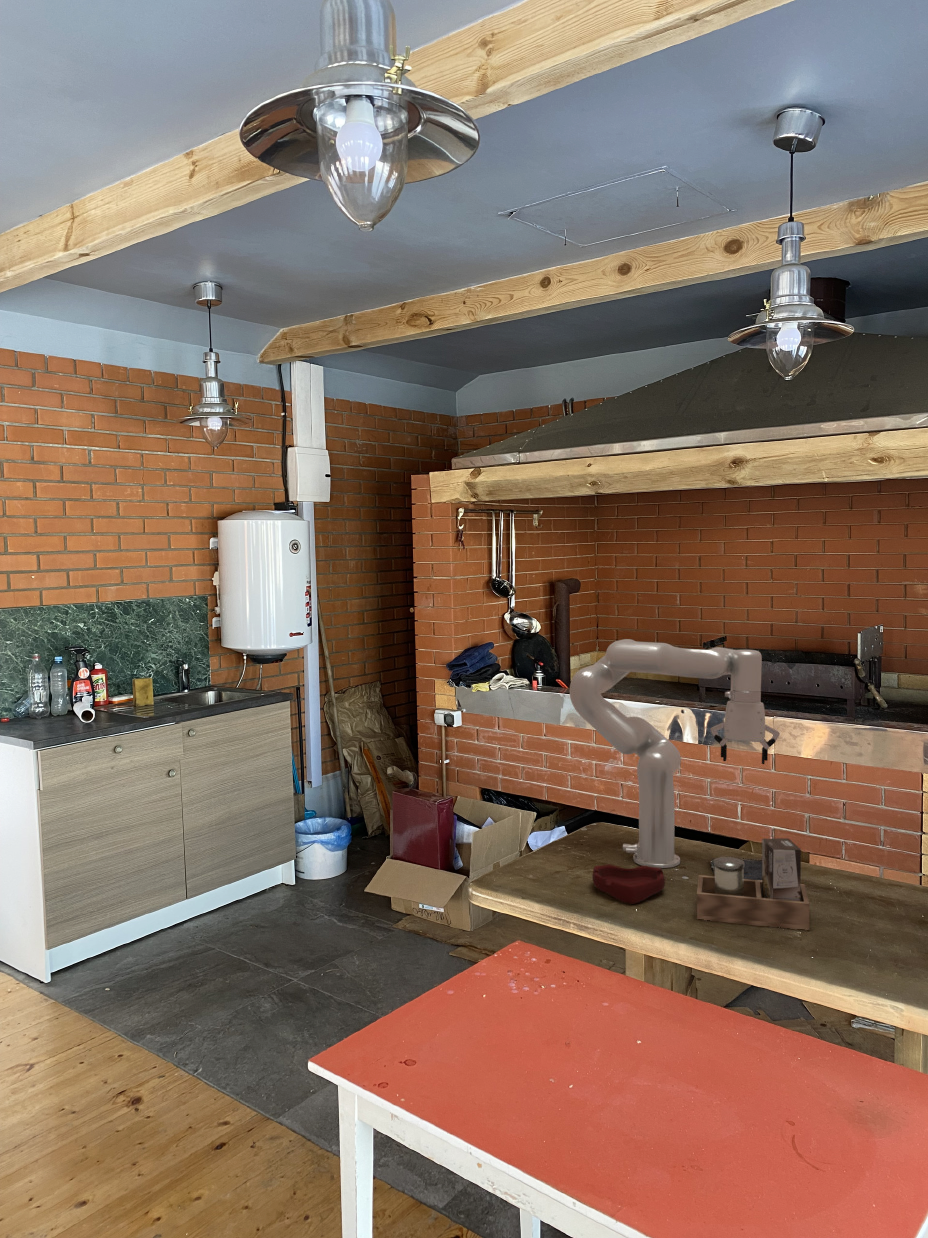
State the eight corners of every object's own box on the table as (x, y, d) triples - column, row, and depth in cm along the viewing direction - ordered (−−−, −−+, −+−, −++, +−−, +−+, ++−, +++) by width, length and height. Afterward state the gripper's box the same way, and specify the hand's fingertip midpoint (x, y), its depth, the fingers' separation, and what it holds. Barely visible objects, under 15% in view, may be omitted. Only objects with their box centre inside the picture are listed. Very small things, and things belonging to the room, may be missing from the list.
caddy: (696, 919, 201) (696, 893, 201) (698, 899, 214) (698, 875, 213) (809, 930, 194) (809, 904, 194) (804, 909, 207) (804, 884, 206)
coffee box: (801, 920, 198) (802, 849, 197) (772, 920, 198) (772, 849, 197) (789, 905, 207) (789, 837, 206) (761, 905, 207) (761, 837, 206)
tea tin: (713, 912, 203) (713, 865, 203) (713, 901, 210) (714, 856, 209) (744, 915, 201) (744, 867, 201) (743, 904, 208) (744, 858, 207)
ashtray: (593, 906, 211) (593, 885, 211) (592, 882, 227) (592, 863, 227) (669, 908, 209) (669, 888, 208) (662, 885, 225) (662, 865, 225)
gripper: (710, 697, 230) (708, 762, 231) (780, 700, 224) (778, 767, 225) (712, 693, 237) (710, 756, 238) (780, 697, 231) (778, 761, 232)
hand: (743, 761), depth 231 cm, fingers open, 9 cm apart
